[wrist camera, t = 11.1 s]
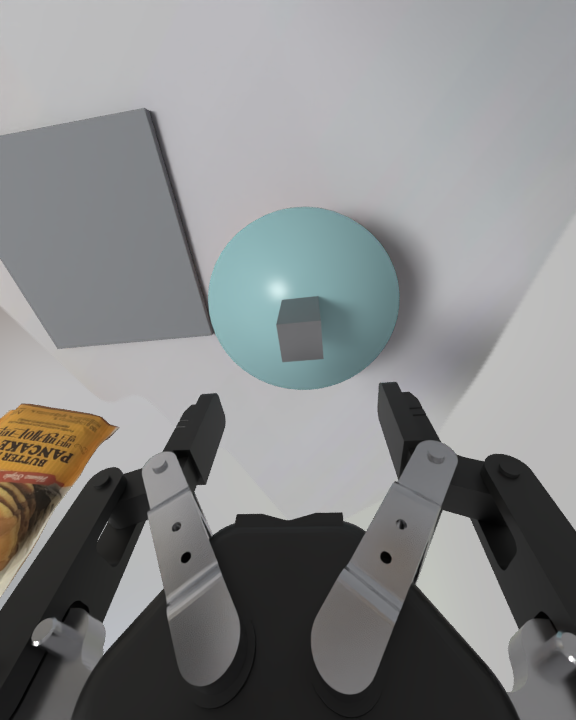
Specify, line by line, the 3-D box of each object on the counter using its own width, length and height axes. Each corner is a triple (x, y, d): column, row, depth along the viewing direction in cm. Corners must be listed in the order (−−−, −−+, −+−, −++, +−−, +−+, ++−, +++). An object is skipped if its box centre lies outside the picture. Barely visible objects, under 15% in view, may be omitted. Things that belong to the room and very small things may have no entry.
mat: (-60, 150, 25) (-70, 149, 24) (149, 110, 22) (144, 107, 22) (62, 345, 35) (57, 348, 34) (213, 332, 33) (211, 335, 32)
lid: (187, 222, 21) (149, 232, 16) (404, 191, 19) (440, 191, 14) (234, 388, 29) (219, 430, 24) (389, 378, 27) (408, 420, 22)
